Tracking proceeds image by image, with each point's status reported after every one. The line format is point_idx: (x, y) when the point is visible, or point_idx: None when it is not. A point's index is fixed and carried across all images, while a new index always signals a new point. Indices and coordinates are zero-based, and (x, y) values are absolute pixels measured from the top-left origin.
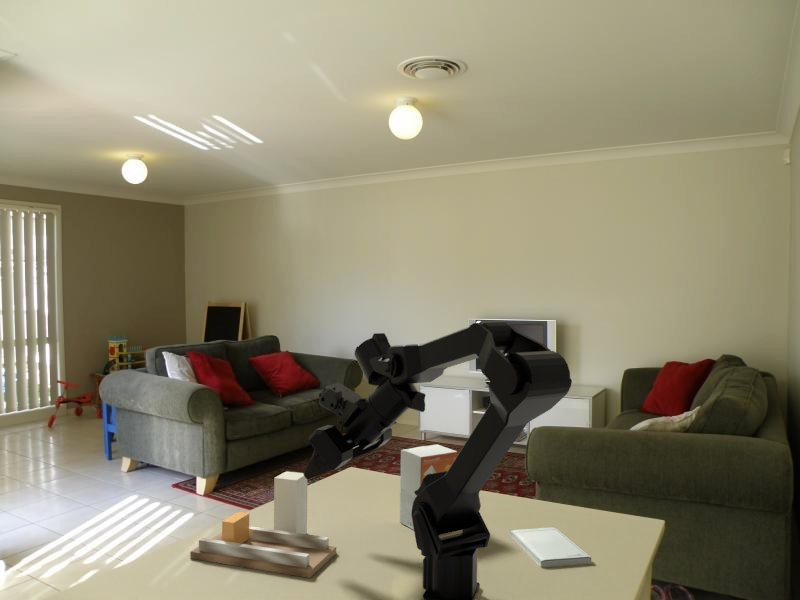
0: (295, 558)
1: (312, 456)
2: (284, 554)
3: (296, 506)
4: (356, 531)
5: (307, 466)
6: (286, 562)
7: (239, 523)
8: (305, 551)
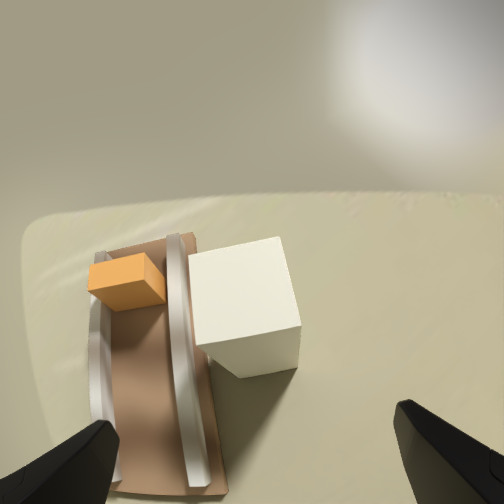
0: None
1: (3, 479)
2: None
3: (222, 364)
4: (370, 456)
5: (59, 446)
6: None
7: (110, 291)
8: (170, 446)
